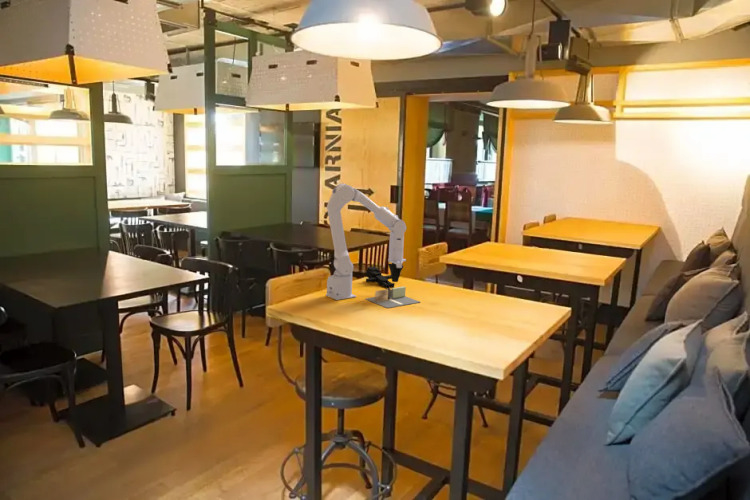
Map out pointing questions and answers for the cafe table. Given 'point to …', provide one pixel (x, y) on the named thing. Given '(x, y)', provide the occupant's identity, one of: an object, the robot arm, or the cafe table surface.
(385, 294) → the block
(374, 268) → the toy
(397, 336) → the cafe table surface
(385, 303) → the card
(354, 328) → the cafe table surface
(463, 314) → the cafe table surface
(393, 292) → the fence panel
